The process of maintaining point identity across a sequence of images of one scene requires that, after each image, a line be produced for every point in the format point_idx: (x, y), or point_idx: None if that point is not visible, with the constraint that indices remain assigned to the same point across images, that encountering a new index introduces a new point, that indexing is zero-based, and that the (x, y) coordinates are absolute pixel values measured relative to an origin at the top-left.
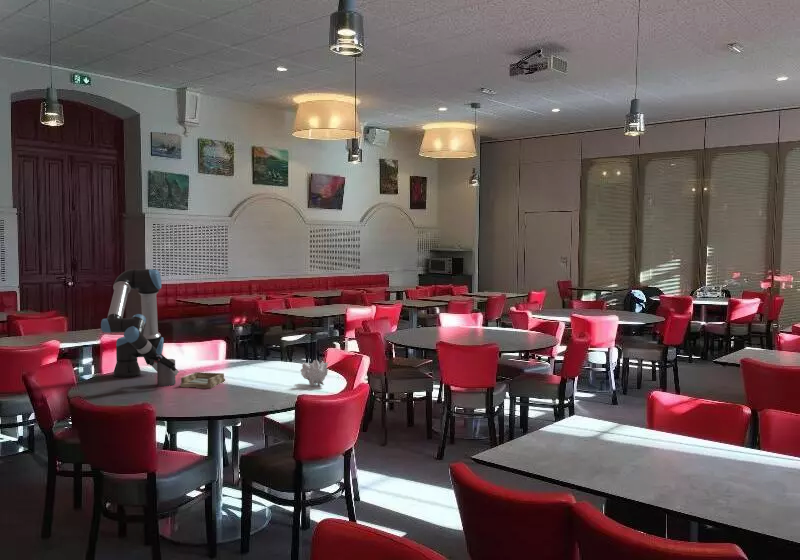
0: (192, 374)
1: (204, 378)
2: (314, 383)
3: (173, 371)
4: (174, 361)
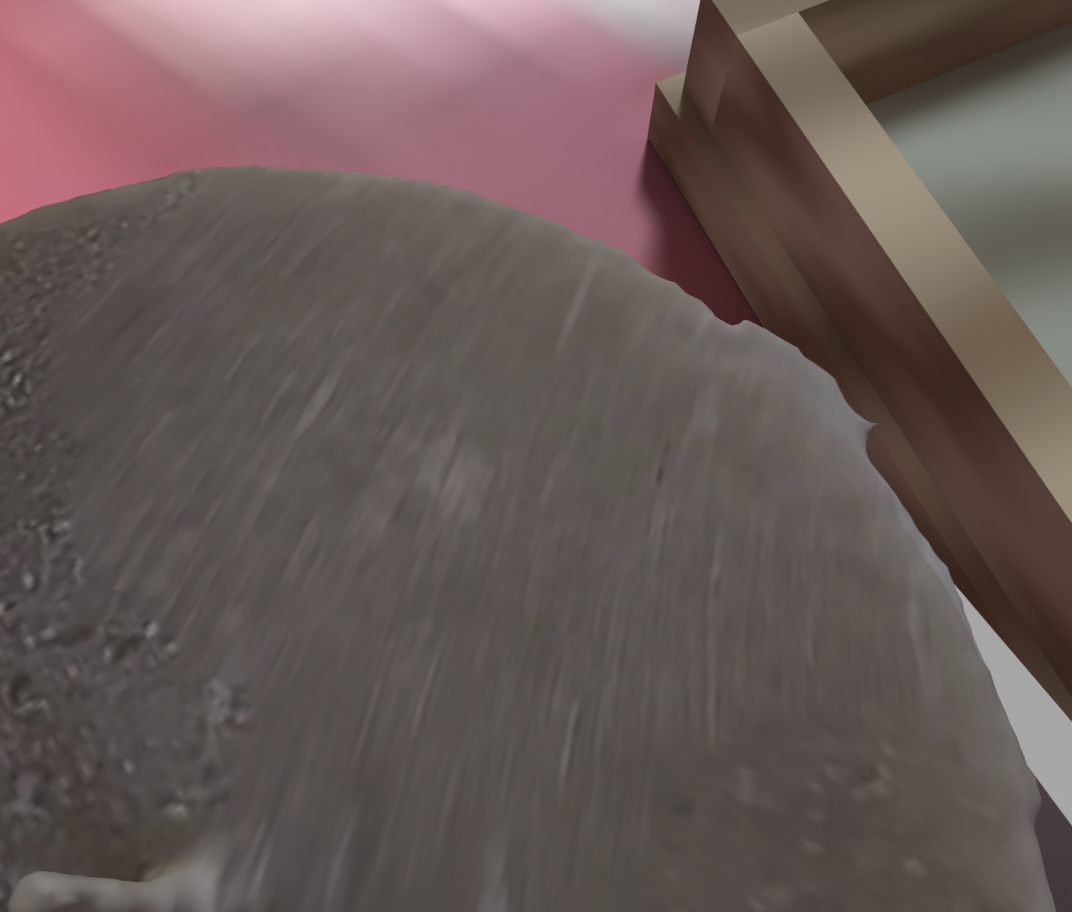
0: (905, 195)
1: (964, 74)
2: None
3: None
4: (877, 507)
